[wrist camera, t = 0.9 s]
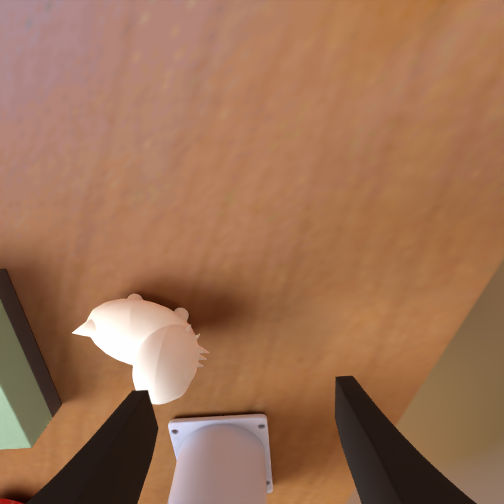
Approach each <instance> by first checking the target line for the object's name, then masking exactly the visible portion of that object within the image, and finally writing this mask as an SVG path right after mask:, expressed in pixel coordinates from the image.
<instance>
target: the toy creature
mask: <svg viewBox="0 0 504 504" xmlns="http://www.w3.org/2000/svg"><path fill="white" fill-rule="evenodd" d="M188 316H189V314H188V311H187V310H186V309H184V308H177V309H175V310H174V311H172V310H170V309H169V308H166V307H164V306H161V305H159V304H156V303H154V302H149V301H144V300H143V298H142V297H141V296H140V295H138V294H131V295H129V296H128V298H127V299H117V300H112V301H108V302H105V303H103V304H101V305H99V306H98V307H96V308H95V309H93V310H92V312H91V314H90V316H89V317H88V319H87V321H86V322H85V323H84V324H82V325H81V326H80V327H79V328H77V329H76V330H75V331H74V332H72V333H74V334H79V335H84V336H89V337H91V338H92V340H93V341H94V343H95V344H96V345H97V346H98V347H99V348H101V349H102V350H103V351H104V352H105V353H106V354H108V355H110V356H112V357H114V358H115V359H117V360H119V361H122V362H125V363H128V364H131V365H133V374H132V375H133V382H134V385H135V388H136V390H148V392H149V396H150V399H151V403H152V404H165V403H168V402H170V401H173V400H174V399H178V398H180V397H181V396H182V395H183V394H184V393H185V392H186V390H187V389H188V386H189V385H190V383H191V381H192V380H193V378H194V376H195V374H196V371H197V367H205V366H203V365H202V364H200V363H199V362H198V361H199V360H208V359H206V358H205V357H203V356H202V355H200V354H199V353H210V352H209V351H207V350H205V349H204V348H202V347H201V346H199V345H198V343H197V339H198V337H199V336H200V334H201V333H200V334H198V335H196V336H195V334H194V332H193V330H192V328H191V325H189V324H188V323H187V319H188Z"/></svg>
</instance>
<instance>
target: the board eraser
mask: <svg viewBox="0 0 504 504" xmlns="http://www.w3.org/2000/svg"><path fill="white" fill-rule="evenodd" d="M61 405H62V404H61V401H60V399H59V396H58V394H57V392H56V389H55V387H54V385H53V382H52V380H51V377H50V375H49V373H48V370H47V368H46V365H45V363H44V361H43V358H42V356H41V353H40V351H39V349H38V346H37V344H36V341H35V339H34V337H33V334H32V332H31V329H30V327H29V325H28V322H27V320H26V317H25V315H24V313H23V310H22V308H21V306H20V303H19V301H18V298H17V296H16V294H15V291H14V289H13V286H12V284H11V282H10V279H9V277H8V274H7V272H6V270H5V269H1V270H0V449H16V448H31V447H33V445H34V444H35V442H36V441H37V439H38V438H39V437H40V435H41V434H42V432H43V431H44V429H45V428H46V427H47V425H48V424H49V422H50V421H51V419H52V417H54V415H55V414H56V412H57V411H58V409H59V408H60V407H61Z"/></svg>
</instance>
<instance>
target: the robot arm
mask: <svg viewBox="0 0 504 504" xmlns="http://www.w3.org/2000/svg"><path fill="white" fill-rule="evenodd" d="M335 419H336V423H337V428H338V432H339V436H340V440H341V444H342V448H343V451H344V454H345V457H346V459H347V462H348V465H349V468H350V471H351V474H352V477H353V480H354V483H355V486H356V488H357V491H358V494H359V497H360V500H361V503H362V504H476V503H475V502H474V501H473V500H471V499H470V498H469V497H468V496H467V495H465V494H464V493H463V492H462V491H460V490H459V489H458V488H457V487H456V486H455V485H454V484H453V483H452V482H450V481H449V480H448V479H447V478H446V477H445V476H443V474H442V473H440V472H439V471H438V470H437V469H436V468H435V467H434V466H433V465H432V464H431V463H430V462H429V461H428V460H426V458H424V457H423V456H422V455H421V454H420V453H419V452H418V451H417V450H416V449H415V448H414V447H413V445H412V444H411V443H409V441H408V440H407V439H406V438H405V437H404V436H403V435H402V434H401V433H400V432H399V431H398V430H397V429H396V427H395V426H394V425H393V424H392V423H391V422H390V421H389V420H388V418H387V417H386V416H385V415H384V414H383V413H382V412H381V410H380V409H379V408H378V407H377V406H376V405H375V403H374V402H373V401H372V400H371V398H370V397H369V396H368V395H367V393H366V392H365V391H364V390H363V388H362V387H361V386H360V384H359V383H358V382H357V380H356V379H355V378H354V377H353V376H340V377H336V387H335ZM261 424H262V425H261ZM168 428H169V432H170V436H171V440H172V444H173V448H174V452H175V456H176V460H177V464H176V469H175V473H174V478H173V482H172V486H171V491H170V495H169V500H168V504H267V493H271V492H272V491H273V483H272V471H271V459H270V447H269V436H268V424H267V417H266V415H264V414H248V415H231V416H214V417H197V418H181V419H172V420H170V422H169V424H168ZM157 433H158V425H157V421H156V418H155V414H154V410H153V407H152V403H151V399H150V396H149V392H148V390H136V391H132V392H131V393H130V394H129V395H128V396H127V397H126V398H125V400H124V401H123V402H122V403H121V404H120V405H119V407H118V408H117V409H116V410H115V411H114V412H113V414H112V415H111V416H110V417H109V418H108V419H107V421H106V422H105V423H104V424H103V425H102V426H101V427H100V429H99V430H98V431H97V432H96V433H95V434H94V435H93V436H92V438H91V439H90V440H89V441H88V442H87V443H86V444H85V445H84V446H83V448H82V449H81V450H80V451H79V452H78V453H77V454H76V455H75V456H74V457H73V458H72V459H71V460H70V461H69V462H68V463H67V464H66V465H65V467H64V468H63V469H62V470H61V471H60V472H59V473H58V474H57V475H56V476H55V477H54V478H53V479H52V480H51V481H50V482H49V483H47V484H46V485H45V486H44V487H43V488H42V489H41V490H40V491H39V492H38V493H37V494H36V495H35V496H34V497H32V498H31V499H30V500H29V501H28V502H27V503H26V504H137V503H138V500H139V497H140V494H141V491H142V488H143V485H144V481H145V478H146V475H147V472H148V469H149V466H150V463H151V460H152V456H153V452H154V447H155V442H156V437H157Z"/></svg>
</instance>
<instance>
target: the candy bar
mask: <svg viewBox="0 0 504 504" xmlns="http://www.w3.org/2000/svg"><path fill="white" fill-rule="evenodd" d="M0 504H24V503H21V502H17V501H14V500H8V499H0Z"/></svg>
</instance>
